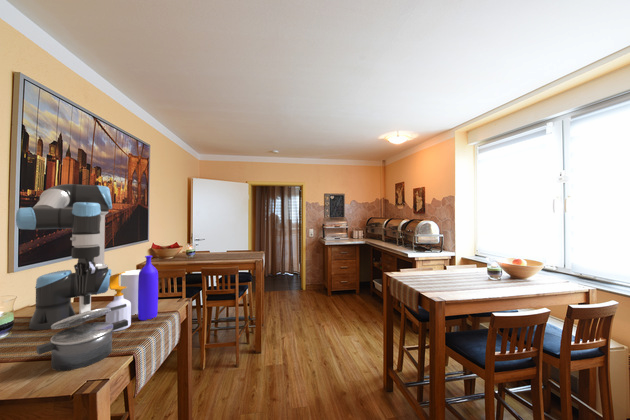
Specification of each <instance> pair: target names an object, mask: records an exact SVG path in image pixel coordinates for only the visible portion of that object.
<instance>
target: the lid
mask: <svg viewBox="0 0 630 420" xmlns="http://www.w3.org/2000/svg"><path fill="white" fill-rule="evenodd" d="M126 306H127V305H126V304H123V305H120V306H116V307H112V308H110V307H106V306H105V307H99V308H95V309H91V311H87V312H84V313H80V314H79V313H76V315H74V316H71V317H68V318H66V319H63V320H61V321H58V322H56V323H54V324H53V325H51V328H50V329H51V330H58V329H59V330H60V329H63V330H65V329H68V328H71V327H74V326H78V325H83V324H86V322H90V321H92V320H94V319H95V320H96V319H97V318H100V317H102V316H104V315H105V316H106V314H107V313H108V312H110V311H114V310H118V309H121V308H125V307H126Z"/></svg>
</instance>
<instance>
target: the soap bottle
mask: <svg viewBox="0 0 630 420" xmlns="http://www.w3.org/2000/svg"><path fill="white" fill-rule="evenodd" d="M123 273H126V271H123V272H119V273H115V274H113V275H112V274H111V276H110V278H109V289H110V290H113V291H114V292H116V293H115V294H114V295H113V300H112V301H110V302H109V303H108V304H107V305H106V306H105V308H106V307H110V308H112V307H116V306H120V305H123V304H126V305H127V306H126V307H125V308H121V309H118V310H114V311H110V312H108V313H107V314H105V322H108V323H115V322H118V321H121V320H124V319H125V320H128V326H125V327H122V328H119V329H116V330H113V331H112V333H113V332H120V331H123V330H126V329H127V328H129V327H131V324H132V315H131V303H130V301H128V300H126V299H124V298H123V293H121V291H122V290H123V289H124V288H126V287H124V286H121V285H120V284H119V283H120V281H119V278H120V276H121V274H123Z"/></svg>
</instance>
